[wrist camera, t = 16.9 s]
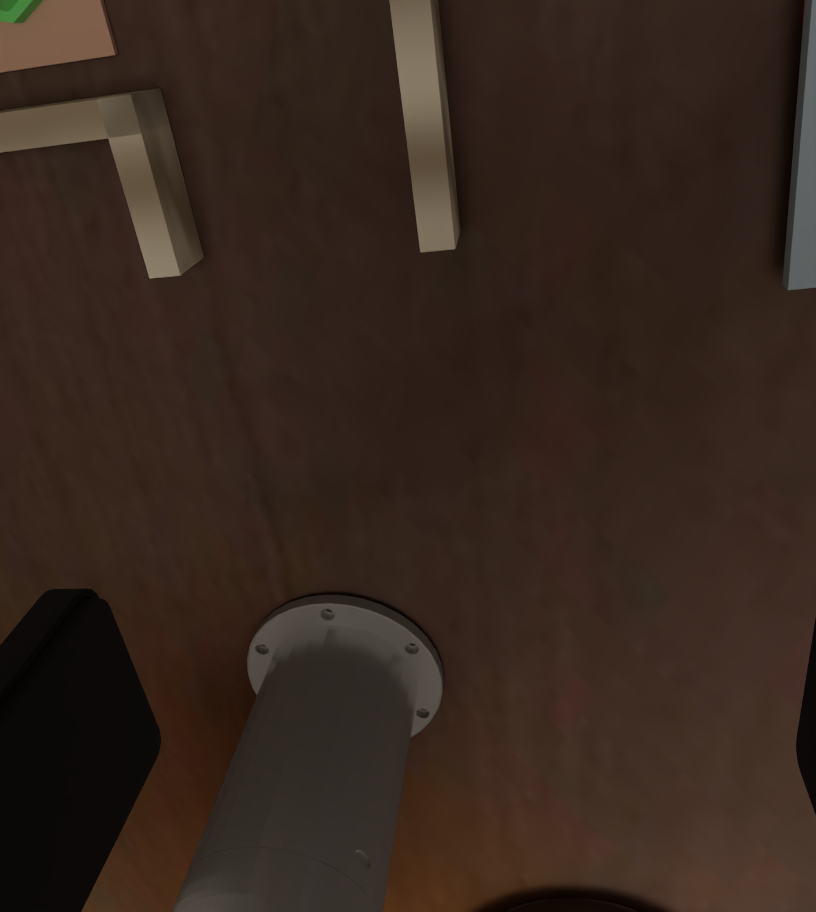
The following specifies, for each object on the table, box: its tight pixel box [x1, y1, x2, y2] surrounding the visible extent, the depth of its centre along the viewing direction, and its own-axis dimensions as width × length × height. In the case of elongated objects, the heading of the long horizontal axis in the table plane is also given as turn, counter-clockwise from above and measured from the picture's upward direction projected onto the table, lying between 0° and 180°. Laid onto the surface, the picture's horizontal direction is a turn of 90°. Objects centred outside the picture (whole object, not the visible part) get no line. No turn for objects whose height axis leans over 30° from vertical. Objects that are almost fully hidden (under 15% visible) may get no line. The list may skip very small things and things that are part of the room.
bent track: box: [0, 0, 460, 278], centre depth 31 cm, size 20×23×3 cm
